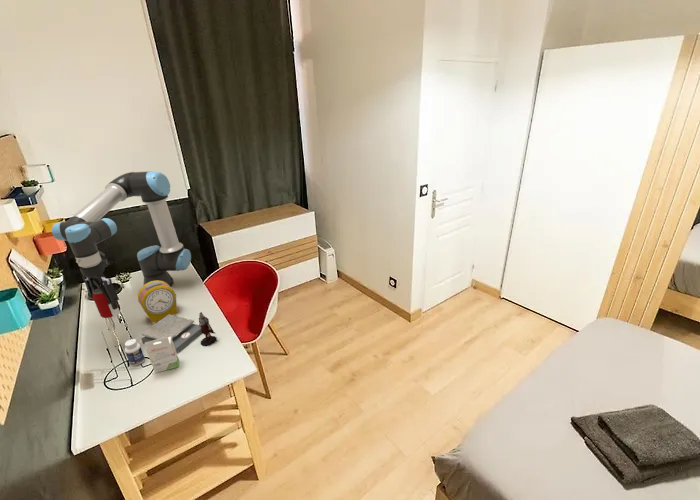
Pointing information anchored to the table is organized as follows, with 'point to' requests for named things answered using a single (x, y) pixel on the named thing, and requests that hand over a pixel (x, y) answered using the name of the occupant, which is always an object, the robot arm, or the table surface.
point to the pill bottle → (134, 352)
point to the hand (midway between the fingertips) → (110, 313)
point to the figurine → (206, 331)
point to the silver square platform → (167, 327)
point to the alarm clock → (157, 300)
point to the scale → (181, 337)
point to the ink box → (162, 354)
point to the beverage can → (102, 303)
